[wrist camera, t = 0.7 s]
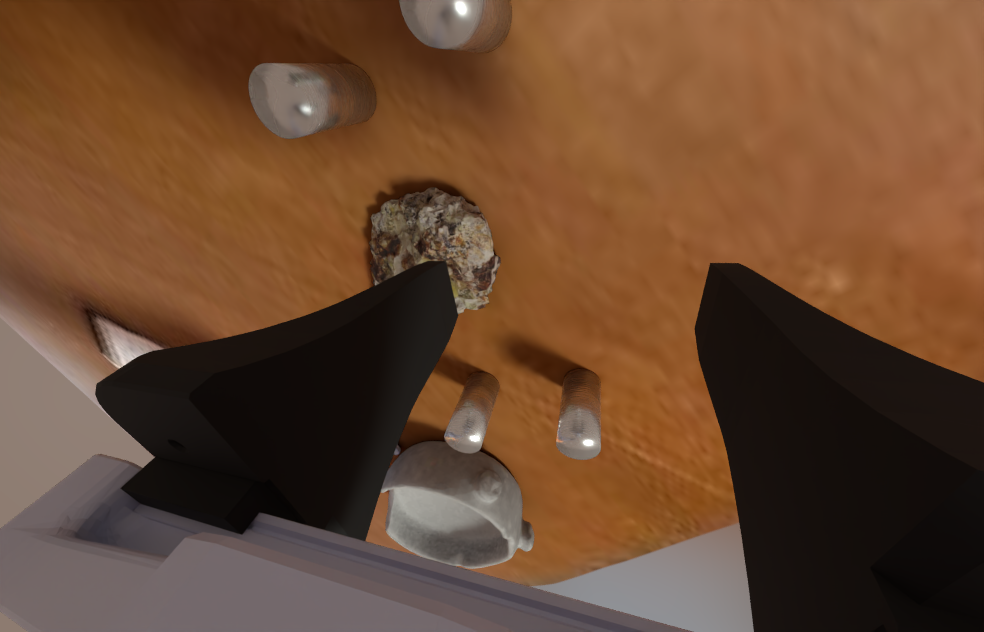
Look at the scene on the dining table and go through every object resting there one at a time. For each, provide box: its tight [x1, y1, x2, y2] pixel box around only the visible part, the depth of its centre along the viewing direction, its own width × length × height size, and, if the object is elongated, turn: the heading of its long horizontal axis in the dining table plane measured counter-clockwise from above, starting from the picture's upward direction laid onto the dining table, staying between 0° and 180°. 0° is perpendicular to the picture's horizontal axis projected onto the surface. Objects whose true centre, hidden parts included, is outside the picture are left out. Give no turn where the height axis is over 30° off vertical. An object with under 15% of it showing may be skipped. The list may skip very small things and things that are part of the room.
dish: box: [381, 441, 534, 569], centre depth 33 cm, size 14×14×5 cm
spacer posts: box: [249, 0, 601, 460], centre depth 18 cm, size 9×22×5 cm, turn 19°
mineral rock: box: [369, 187, 501, 314], centre depth 21 cm, size 11×4×8 cm
